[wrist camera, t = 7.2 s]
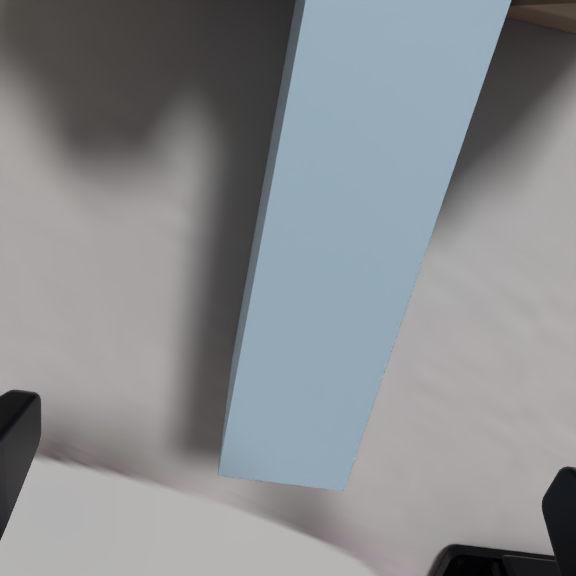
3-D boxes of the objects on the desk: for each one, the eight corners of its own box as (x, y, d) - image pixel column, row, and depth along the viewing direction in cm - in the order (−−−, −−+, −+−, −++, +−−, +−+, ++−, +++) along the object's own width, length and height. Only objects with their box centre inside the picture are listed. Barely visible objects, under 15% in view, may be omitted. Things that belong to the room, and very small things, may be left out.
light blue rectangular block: (326, 371, 18) (345, 497, 13) (231, 357, 17) (216, 482, 13) (457, -95, 12) (574, -164, 7) (317, -129, 12) (346, -227, 7)
